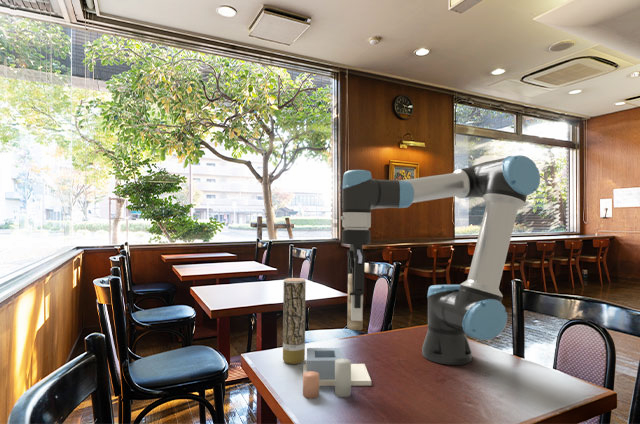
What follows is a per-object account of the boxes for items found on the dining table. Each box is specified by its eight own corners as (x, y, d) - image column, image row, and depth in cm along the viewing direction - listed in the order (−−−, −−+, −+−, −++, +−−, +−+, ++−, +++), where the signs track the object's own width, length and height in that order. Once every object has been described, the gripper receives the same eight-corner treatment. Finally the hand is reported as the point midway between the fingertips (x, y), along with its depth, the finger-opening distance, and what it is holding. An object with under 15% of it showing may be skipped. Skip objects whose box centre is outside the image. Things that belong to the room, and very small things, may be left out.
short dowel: (318, 391, 96) (318, 371, 96) (319, 398, 92) (319, 377, 92) (302, 391, 96) (303, 371, 96) (302, 398, 92) (303, 377, 92)
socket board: (364, 367, 112) (364, 346, 112) (371, 385, 100) (371, 361, 100) (303, 368, 111) (303, 346, 111) (303, 385, 99) (303, 362, 99)
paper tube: (301, 365, 113) (302, 281, 114) (279, 363, 114) (280, 280, 115) (307, 357, 120) (307, 278, 120) (286, 356, 121) (287, 277, 122)
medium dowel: (349, 389, 97) (349, 358, 97) (351, 397, 93) (351, 364, 93) (334, 390, 97) (334, 358, 97) (335, 397, 93) (335, 364, 93)
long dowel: (361, 325, 101) (361, 273, 102) (363, 330, 97) (364, 275, 98) (346, 325, 101) (347, 273, 102) (348, 330, 97) (349, 275, 98)
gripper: (338, 228, 108) (337, 310, 108) (346, 229, 91) (345, 326, 91) (364, 228, 109) (363, 310, 108) (377, 229, 92) (376, 326, 91)
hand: (355, 317), depth 99 cm, fingers closed on long dowel, 4 cm apart
